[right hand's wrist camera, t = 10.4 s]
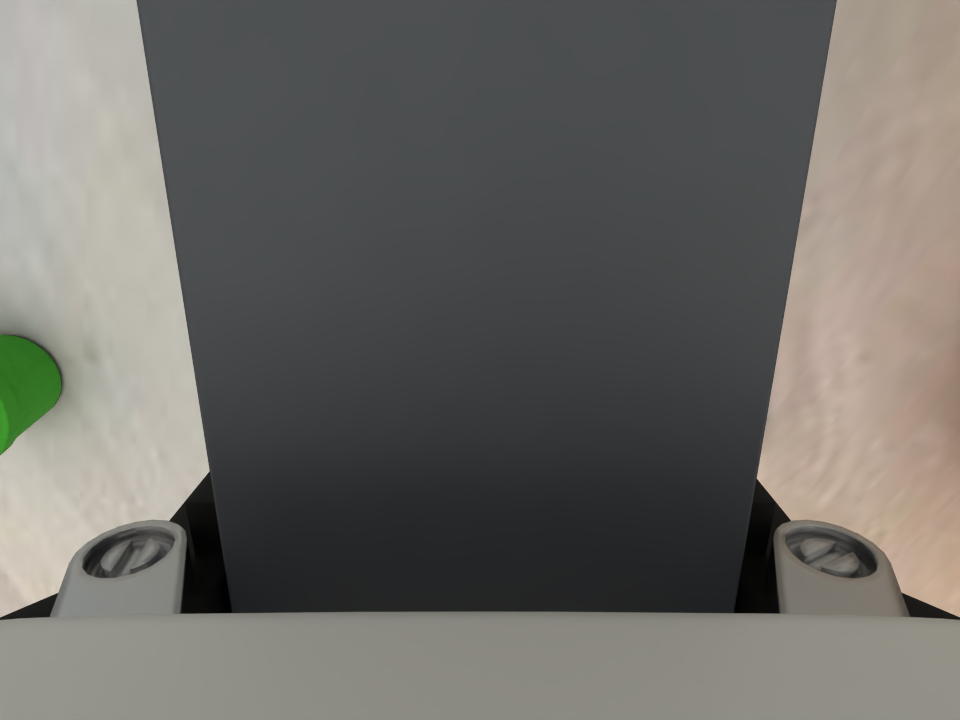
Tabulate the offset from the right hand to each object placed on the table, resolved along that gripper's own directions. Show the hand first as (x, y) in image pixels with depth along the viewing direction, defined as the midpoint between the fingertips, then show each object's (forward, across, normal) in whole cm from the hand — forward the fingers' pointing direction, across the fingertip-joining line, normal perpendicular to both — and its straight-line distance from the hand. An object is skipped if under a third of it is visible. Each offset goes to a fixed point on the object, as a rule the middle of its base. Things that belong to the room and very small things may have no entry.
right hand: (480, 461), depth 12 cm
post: (+2, 0, -31) cm, 31 cm away
